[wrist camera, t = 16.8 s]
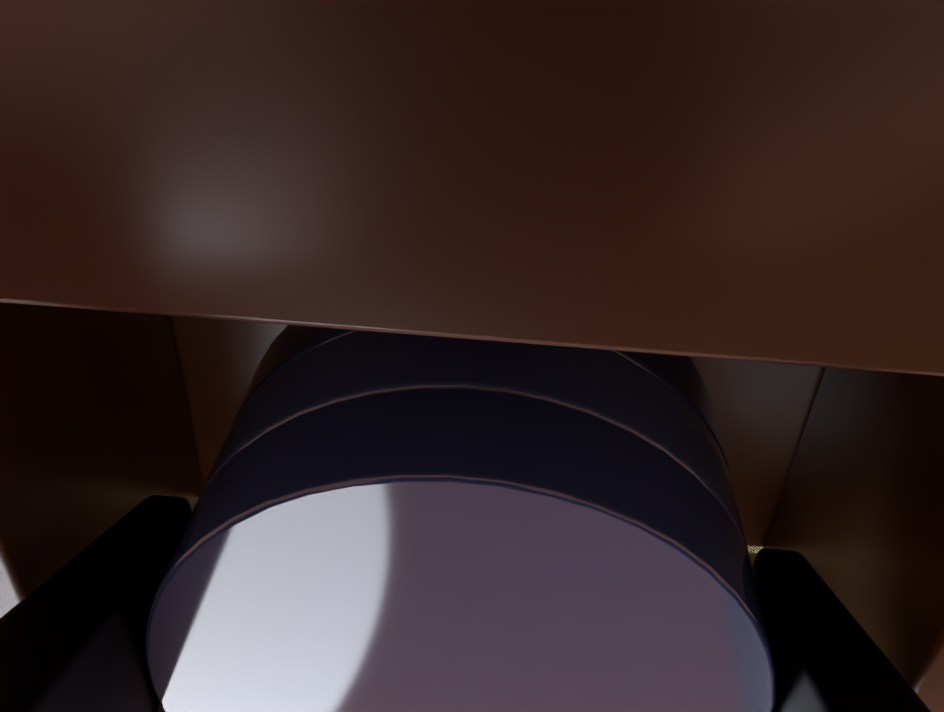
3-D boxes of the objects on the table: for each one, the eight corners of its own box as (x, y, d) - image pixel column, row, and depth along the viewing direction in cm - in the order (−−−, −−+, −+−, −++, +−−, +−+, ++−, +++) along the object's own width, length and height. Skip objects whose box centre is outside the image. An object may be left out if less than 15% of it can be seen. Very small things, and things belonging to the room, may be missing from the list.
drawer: (743, 742, 20) (798, 1070, 15) (204, 690, 20) (96, 993, 16) (1146, -249, 9) (1792, -159, 4) (-47, -306, 9) (-647, -282, 5)
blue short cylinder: (306, 620, 14) (241, 857, 11) (182, 276, 11) (38, 493, 8) (715, 609, 13) (760, 864, 10) (728, 232, 10) (803, 457, 7)
